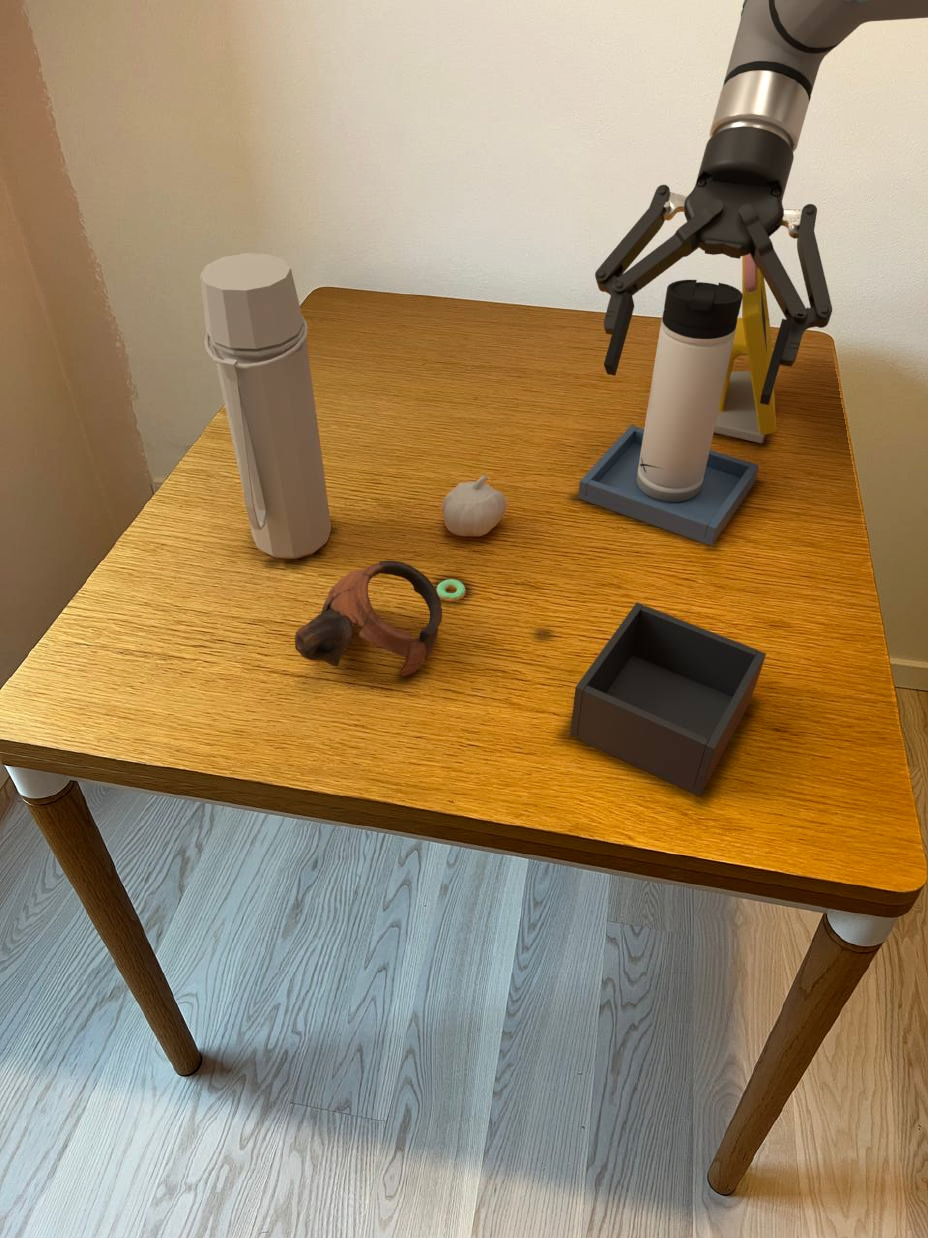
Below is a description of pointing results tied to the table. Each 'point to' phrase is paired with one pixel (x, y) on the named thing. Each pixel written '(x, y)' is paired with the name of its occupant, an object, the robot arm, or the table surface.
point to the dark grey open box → (666, 696)
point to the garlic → (473, 508)
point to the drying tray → (690, 518)
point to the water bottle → (268, 399)
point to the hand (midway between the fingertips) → (685, 385)
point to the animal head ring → (369, 619)
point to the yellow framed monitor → (744, 388)
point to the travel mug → (687, 387)
